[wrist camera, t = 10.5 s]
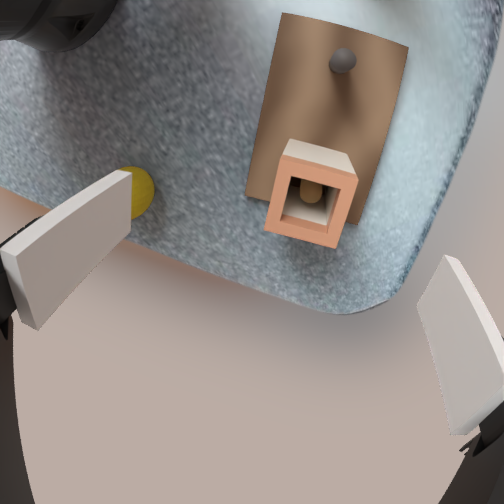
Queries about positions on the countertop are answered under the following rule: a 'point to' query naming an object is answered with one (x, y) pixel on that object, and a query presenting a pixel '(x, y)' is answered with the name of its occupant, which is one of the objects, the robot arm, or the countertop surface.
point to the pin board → (326, 102)
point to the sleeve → (321, 212)
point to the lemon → (140, 190)
